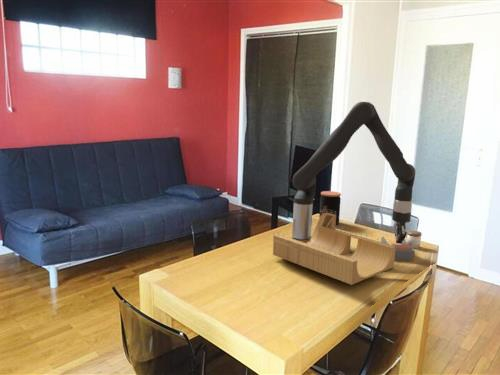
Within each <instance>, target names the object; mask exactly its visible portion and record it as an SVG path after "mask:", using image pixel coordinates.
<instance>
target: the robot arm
mask: <svg viewBox="0 0 500 375" xmlns="http://www.w3.org/2000/svg"><path fill="white" fill-rule="evenodd" d="M363 125H364V126H365V127H366V128H367V129H368V130H369V131H370V134H372V137H373V138H374V141H375V143H376V145H377V147H378V149H379V152H380V153H381V154H382V155H383V157H384V159H385V160H386V161H387V162H388V164H389V167H390V168H391V171H392V172H393V174H394V176H395V177H396V178H397V185H396V187H395V191H394V199H393V205H392V216H391V220H392V221H394V222H395V223H394V225H393V226H394V237H395V243H402V241H404V239H405V238H406V237H407V231H406V230H407V226H406V223H410V222H411V218H412V210H413V207H412V206H413V204H412V203H413V202H412V200H413V188H414V183H415V179H416V169H415V166H414V165H413V164H411V163H408V162H407V160H406V159H405V158H404V154H403V152H402V150H401V149H400V147H399V146H398V144H397V143H396V141H395V140H394V138H393V137H392V136H391V134H390V133H389V132H388V130H387V129H386V127H385V125H384V124H383V122H382V120H381V118H380V116H379V113H378V111H377V109H376V106H374V104H373V103H372V102H369V101H359V102H357V103H355V104H354V105H353V106H352V108H351V109H350V110H349V112H348V113H347V115H346V116H345V118H344V119H343V120H342V122H341V123H340V124H339V125H338V126H337V127H336V128H335V129H334V130H333V131H332V132H331V133H330V135H329V136H328V137H327V138H326V139H325V140H324V141H323V142H322V143H321V144H320V146H319V147H318V148H317V149H316V151H315V152H314V153H313V154H312V156H311V157H310V158H309V160H308V161H307V162H306V163H305V164H304V165H303V166H301V167H300V168H299V169H298V170H297V171H296V172H295V173H294V174H293V176H292V180H291V182H292V186H293V187H294V188H295V190H297V192H296V194H295V195H294V197H293V209H292V210H293V213H292V215H293V216H292V233H291V236H292V237H291V239H297V238H298V239H297V240H300V239H301V240H308V239H311V237H312V226H313V220H312V219H313V208H314V207H313V206H314V199H315V196H316V188H317V175H318V174H319V173H320V172H321V171H322V170H324V169H325V168H326V167H327V166H329V165H330V164H331V163H333V162H334V161H335V160H336V159H337V158H338V157H339V156H340V155H341V154H342V152H343V151H344V150H345V149H346V147H347V146H348V144H349V142H350V140H351V138H352V137H353V136H354V134H355V133H356V132H357V131H358V130H359V129H360V128H361V127H362V126H363ZM294 237H295V238H294ZM405 240H406V239H405Z"/></svg>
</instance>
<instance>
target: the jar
mask: <svg viewBox="0 0 500 375" xmlns="http://www.w3.org/2000/svg"><path fill="white" fill-rule="evenodd" d="M406 232H407V234H406V242H407V243H408V244H409V245H410V247H411V248H412V249H413V250H418V249H421V239H422V232H420V231H417V230H407V231H406Z"/></svg>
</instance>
